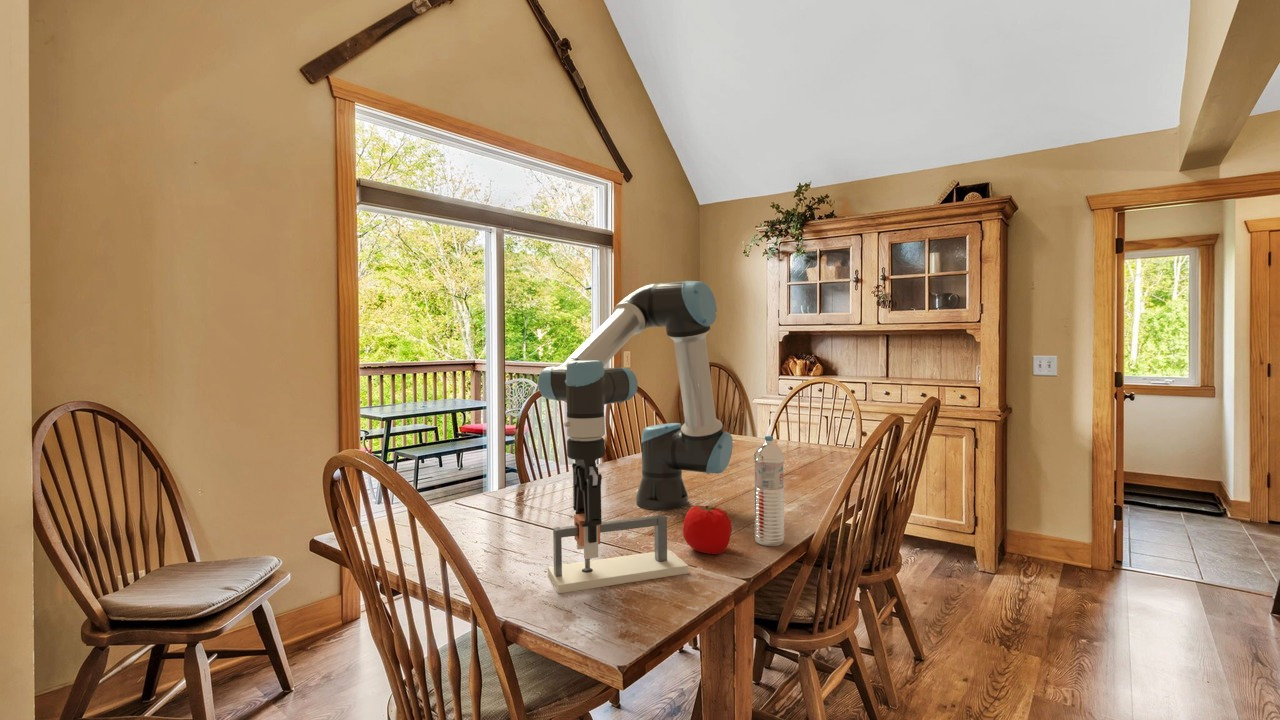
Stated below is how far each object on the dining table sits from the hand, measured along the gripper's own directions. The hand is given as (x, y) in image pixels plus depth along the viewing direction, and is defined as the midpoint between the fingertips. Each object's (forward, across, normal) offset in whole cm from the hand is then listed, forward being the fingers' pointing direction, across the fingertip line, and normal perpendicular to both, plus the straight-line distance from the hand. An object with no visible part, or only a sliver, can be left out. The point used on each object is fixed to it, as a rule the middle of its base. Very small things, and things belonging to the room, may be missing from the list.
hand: (587, 552), depth 121 cm
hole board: (+5, 0, +6) cm, 8 cm away
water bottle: (+6, -5, +46) cm, 46 cm away
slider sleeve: (+3, 0, 0) cm, 3 cm away
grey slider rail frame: (+4, 0, +5) cm, 6 cm away
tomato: (+6, -6, +30) cm, 31 cm away
